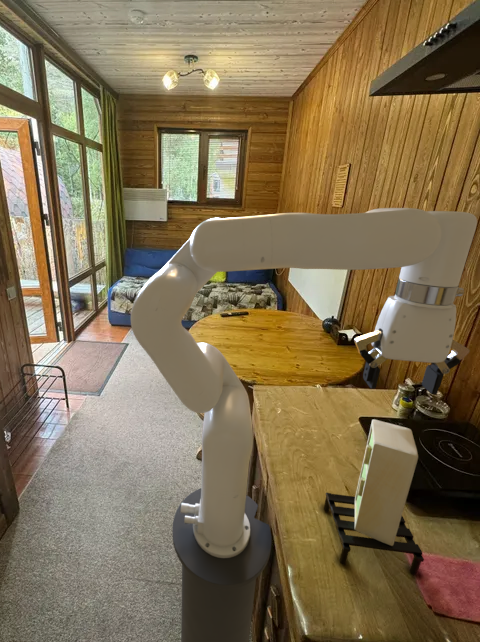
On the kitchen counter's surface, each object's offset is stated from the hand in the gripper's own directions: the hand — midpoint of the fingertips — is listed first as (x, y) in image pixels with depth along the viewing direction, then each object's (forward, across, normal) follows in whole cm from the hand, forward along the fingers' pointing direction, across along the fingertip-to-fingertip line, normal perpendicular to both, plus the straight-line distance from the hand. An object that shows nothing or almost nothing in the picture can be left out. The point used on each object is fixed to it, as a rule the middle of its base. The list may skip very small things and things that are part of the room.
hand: (398, 387), depth 54 cm
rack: (+36, -1, 0) cm, 36 cm away
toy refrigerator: (+31, -1, 0) cm, 31 cm away
